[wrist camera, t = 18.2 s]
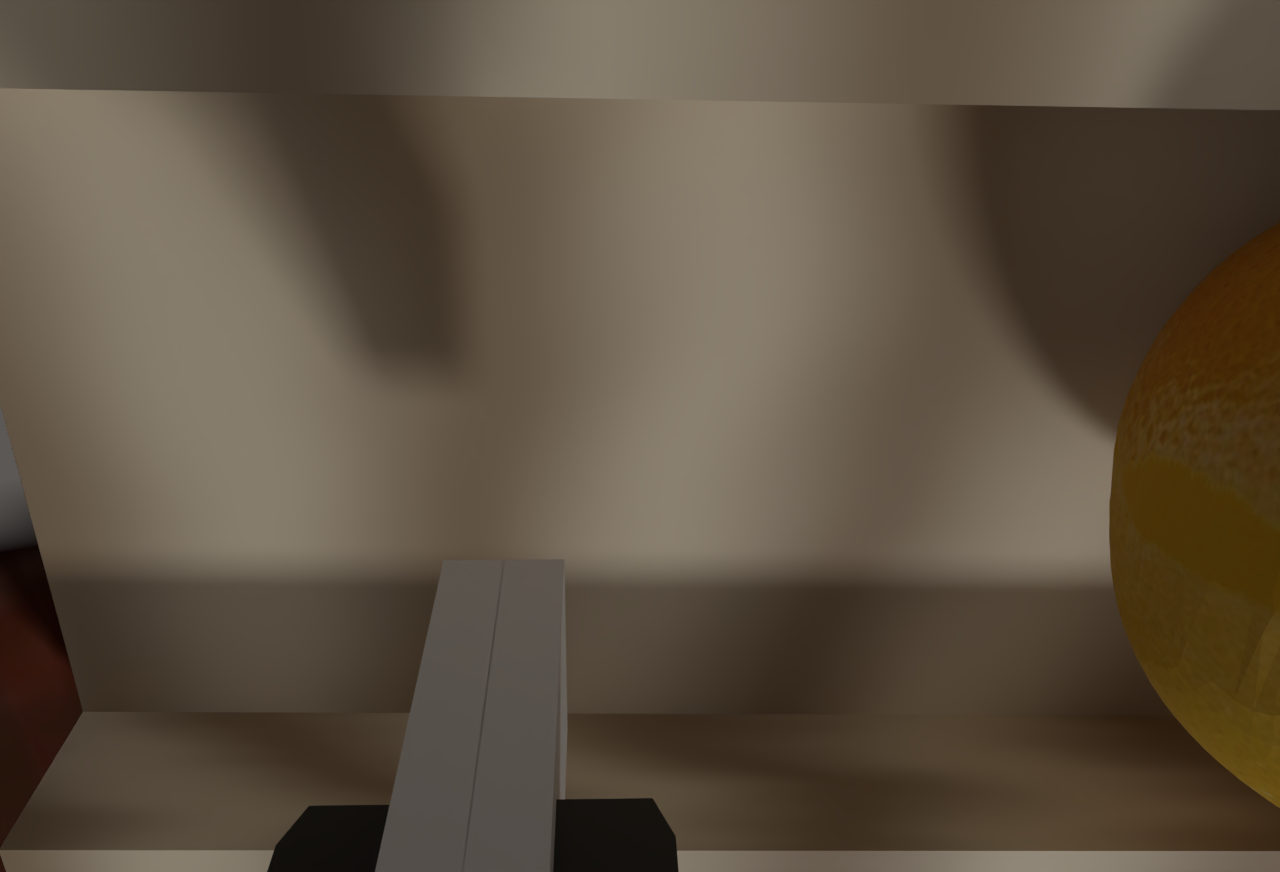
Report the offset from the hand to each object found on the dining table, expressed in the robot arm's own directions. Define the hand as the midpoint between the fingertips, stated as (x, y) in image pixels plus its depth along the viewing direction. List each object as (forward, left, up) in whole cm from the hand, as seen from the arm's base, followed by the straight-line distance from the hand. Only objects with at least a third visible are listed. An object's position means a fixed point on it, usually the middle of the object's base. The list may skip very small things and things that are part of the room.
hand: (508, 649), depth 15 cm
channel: (+4, +1, -5) cm, 6 cm away
